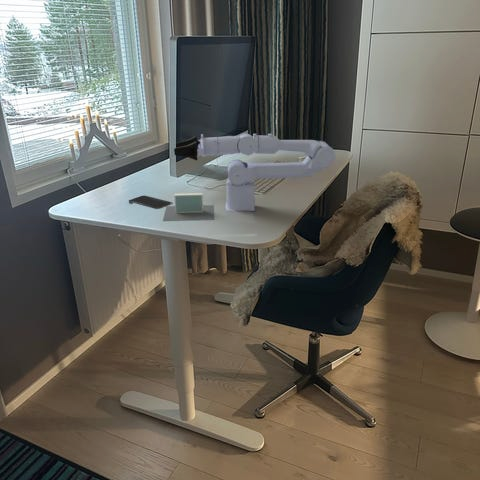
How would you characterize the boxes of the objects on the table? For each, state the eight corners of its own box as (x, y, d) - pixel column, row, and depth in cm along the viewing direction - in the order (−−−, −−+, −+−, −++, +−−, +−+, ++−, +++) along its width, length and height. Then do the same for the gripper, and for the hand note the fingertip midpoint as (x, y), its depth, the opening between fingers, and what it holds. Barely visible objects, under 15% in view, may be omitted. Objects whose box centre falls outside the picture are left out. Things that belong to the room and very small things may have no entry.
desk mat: (213, 206, 155) (213, 205, 155) (214, 221, 142) (214, 219, 142) (166, 207, 154) (166, 206, 154) (162, 222, 142) (162, 221, 141)
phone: (157, 209, 151) (127, 200, 160) (157, 212, 152) (127, 203, 160) (174, 202, 157) (143, 194, 165) (174, 205, 158) (144, 197, 166)
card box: (203, 210, 150) (202, 193, 148) (203, 212, 149) (202, 194, 146) (175, 211, 150) (174, 193, 147) (175, 212, 148) (174, 195, 146)
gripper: (216, 129, 150) (175, 132, 150) (217, 138, 137) (172, 141, 137) (218, 150, 153) (178, 153, 153) (218, 161, 140) (174, 164, 139)
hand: (175, 149), depth 145 cm, fingers open, 7 cm apart
